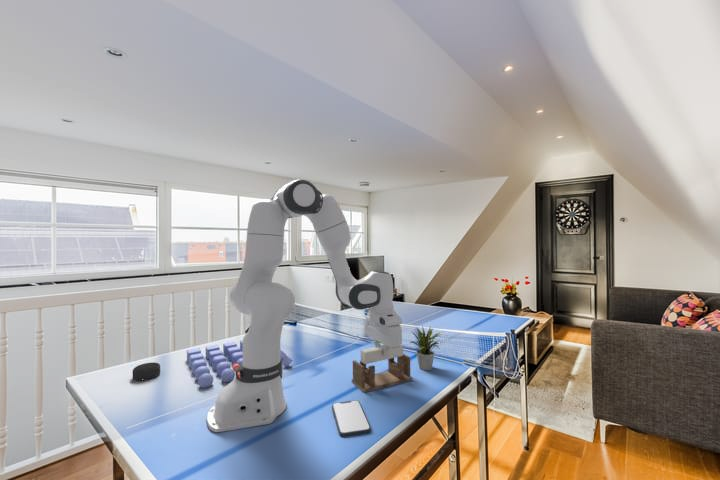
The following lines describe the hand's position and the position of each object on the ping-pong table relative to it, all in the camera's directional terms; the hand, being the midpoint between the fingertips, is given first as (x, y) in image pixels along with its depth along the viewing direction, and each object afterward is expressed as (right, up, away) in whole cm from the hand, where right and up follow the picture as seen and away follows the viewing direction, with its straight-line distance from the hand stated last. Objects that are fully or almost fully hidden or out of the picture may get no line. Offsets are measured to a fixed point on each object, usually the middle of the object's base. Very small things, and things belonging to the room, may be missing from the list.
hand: (381, 353), depth 119 cm
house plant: (+18, -10, +11) cm, 23 cm away
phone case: (-11, -11, -25) cm, 29 cm away
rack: (0, -10, 0) cm, 10 cm away
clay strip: (0, -2, 0) cm, 2 cm away
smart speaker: (-89, -11, +6) cm, 90 cm away
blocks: (-58, -11, +18) cm, 62 cm away
